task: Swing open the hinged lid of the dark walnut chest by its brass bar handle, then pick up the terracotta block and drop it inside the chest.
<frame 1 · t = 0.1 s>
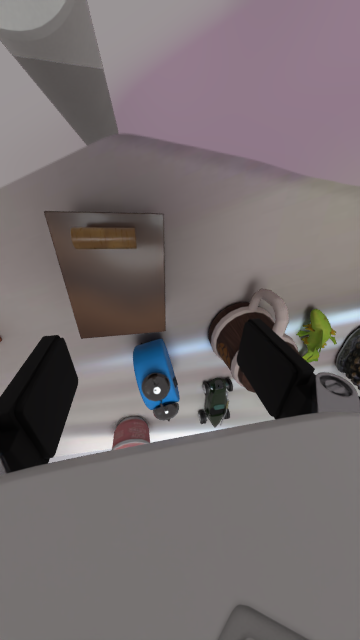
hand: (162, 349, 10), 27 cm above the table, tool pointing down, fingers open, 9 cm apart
lid: (116, 289, 24), point 12 cm above the table, hinge at 0.0°
pine cone sculpture: (353, 345, 59), on the table
container: (132, 423, 58), on the table
mug: (238, 319, 45), on the table
toy car: (213, 398, 59), on the table
toy: (307, 334, 53), on the table
alarm clock: (155, 351, 45), on the table
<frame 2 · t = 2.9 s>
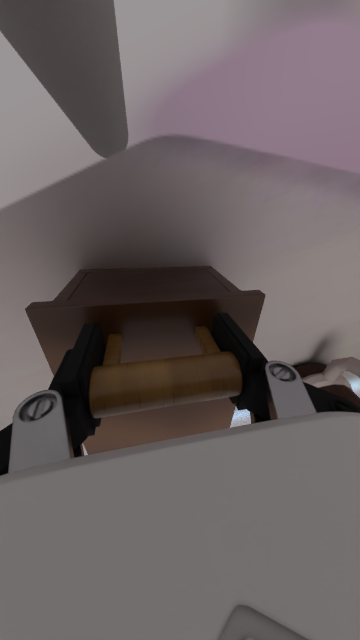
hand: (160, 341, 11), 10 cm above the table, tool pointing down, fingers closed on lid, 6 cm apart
lid: (165, 425, 13), point 12 cm above the table, hinge at 0.0°, touching gripper
chest: (152, 333, 23), on the table
mug: (297, 380, 34), on the table
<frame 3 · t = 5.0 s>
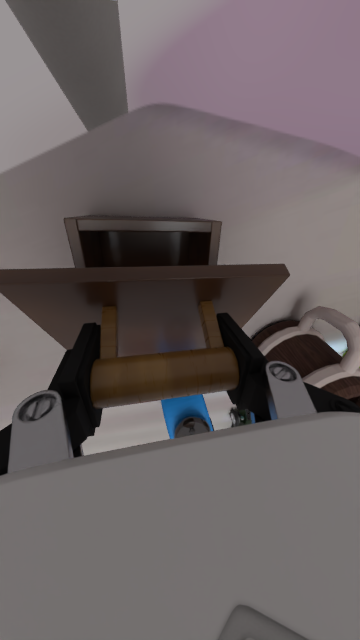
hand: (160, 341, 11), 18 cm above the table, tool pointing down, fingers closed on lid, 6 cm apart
lid: (159, 370, 15), point 16 cm above the table, hinge at 32.5°, touching gripper
chest: (148, 280, 27), on the table
mug: (279, 339, 38), on the table
toy car: (239, 426, 51), on the table
alarm clock: (179, 377, 38), on the table
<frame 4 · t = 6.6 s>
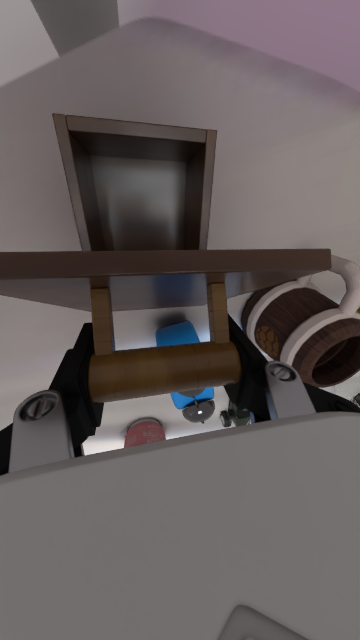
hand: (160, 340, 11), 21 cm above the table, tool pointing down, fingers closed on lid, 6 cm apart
lid: (156, 326, 14), point 18 cm above the table, hinge at 59.8°, touching gripper
chest: (144, 225, 27), on the table
container: (144, 427, 50), on the table
mug: (277, 300, 38), on the table
toy car: (238, 397, 51), on the table
alarm clock: (176, 338, 38), on the table
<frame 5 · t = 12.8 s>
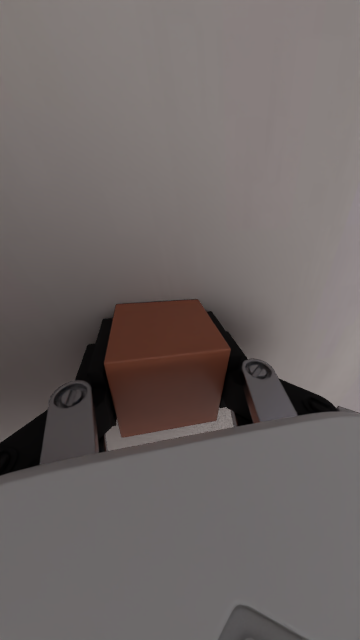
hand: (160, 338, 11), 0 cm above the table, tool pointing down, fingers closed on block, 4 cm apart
block: (159, 335, 11), on the table, touching gripper
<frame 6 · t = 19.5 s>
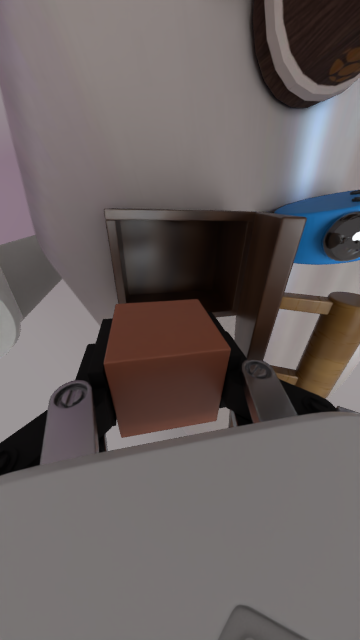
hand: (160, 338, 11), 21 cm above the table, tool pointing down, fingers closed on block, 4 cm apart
lid: (278, 300, 16), point 18 cm above the table, hinge at 61.5°, touching gripper
chest: (171, 256, 30), on the table
mug: (292, 7, 20), on the table
alarm clock: (290, 221, 32), on the table
block: (159, 334, 11), point 21 cm above the table, touching gripper
when the fingers open (9 cm above the table, at t = 22.4 s): block drops 6 cm and tips over, resting on chest.
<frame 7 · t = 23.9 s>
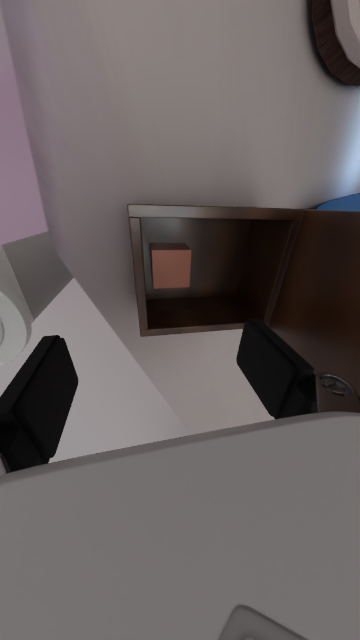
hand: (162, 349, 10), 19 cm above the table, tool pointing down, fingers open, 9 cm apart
lid: (357, 321, 13), point 18 cm above the table, hinge at 69.2°
chest: (194, 258, 27), on the table
alarm clock: (330, 220, 28), on the table
block: (151, 265, 23), point 3 cm above the table, tilted 90°, touching chest
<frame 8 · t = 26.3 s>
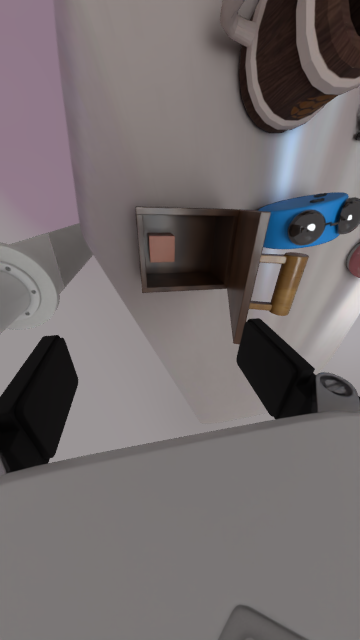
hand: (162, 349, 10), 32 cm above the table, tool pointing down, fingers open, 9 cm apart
lid: (258, 267, 25), point 18 cm above the table, hinge at 69.3°
chest: (178, 244, 39), on the table
mug: (267, 64, 28), on the table
alarm clock: (273, 218, 40), on the table
block: (148, 247, 35), point 3 cm above the table, tilted 90°, touching chest
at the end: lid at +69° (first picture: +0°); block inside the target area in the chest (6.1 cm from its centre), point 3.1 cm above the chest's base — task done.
